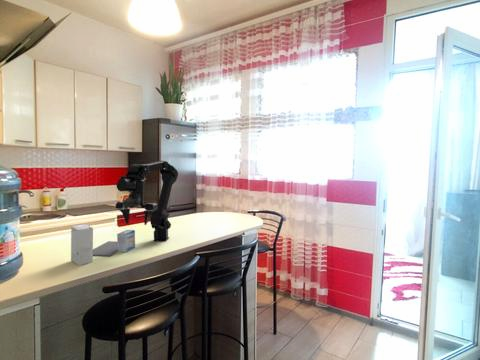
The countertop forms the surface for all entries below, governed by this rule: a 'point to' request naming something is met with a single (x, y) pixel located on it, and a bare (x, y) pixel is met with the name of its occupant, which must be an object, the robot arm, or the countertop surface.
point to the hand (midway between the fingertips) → (136, 224)
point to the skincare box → (81, 244)
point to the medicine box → (126, 240)
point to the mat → (106, 249)
